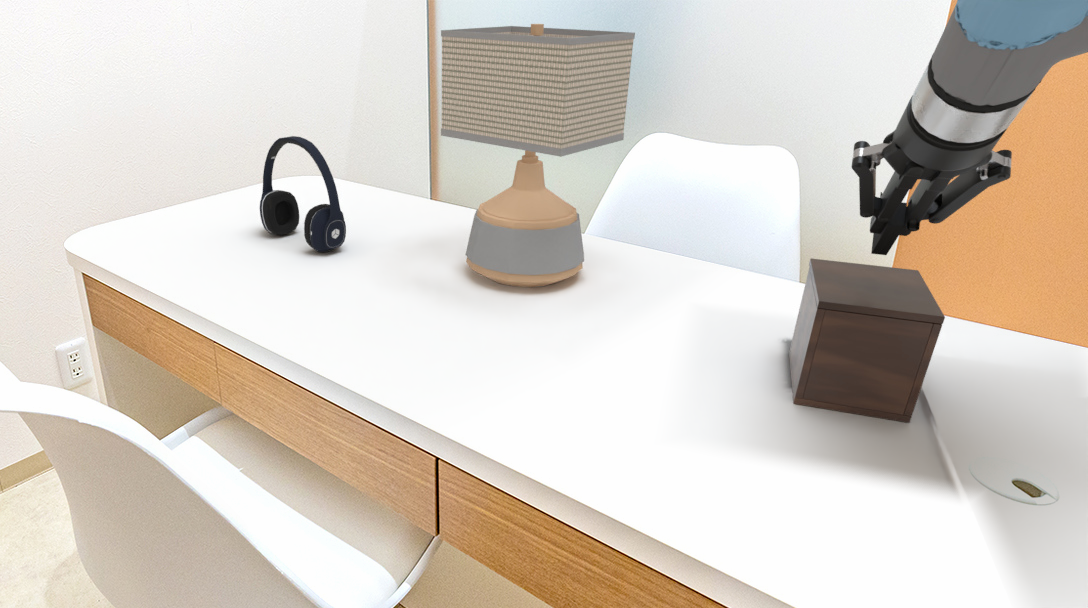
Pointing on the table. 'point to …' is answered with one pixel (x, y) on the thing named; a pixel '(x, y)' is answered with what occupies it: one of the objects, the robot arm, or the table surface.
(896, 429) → the table surface
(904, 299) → the lid
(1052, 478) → the table surface
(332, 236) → the headphones
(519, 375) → the table surface
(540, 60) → the desk lamp
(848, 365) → the chest
